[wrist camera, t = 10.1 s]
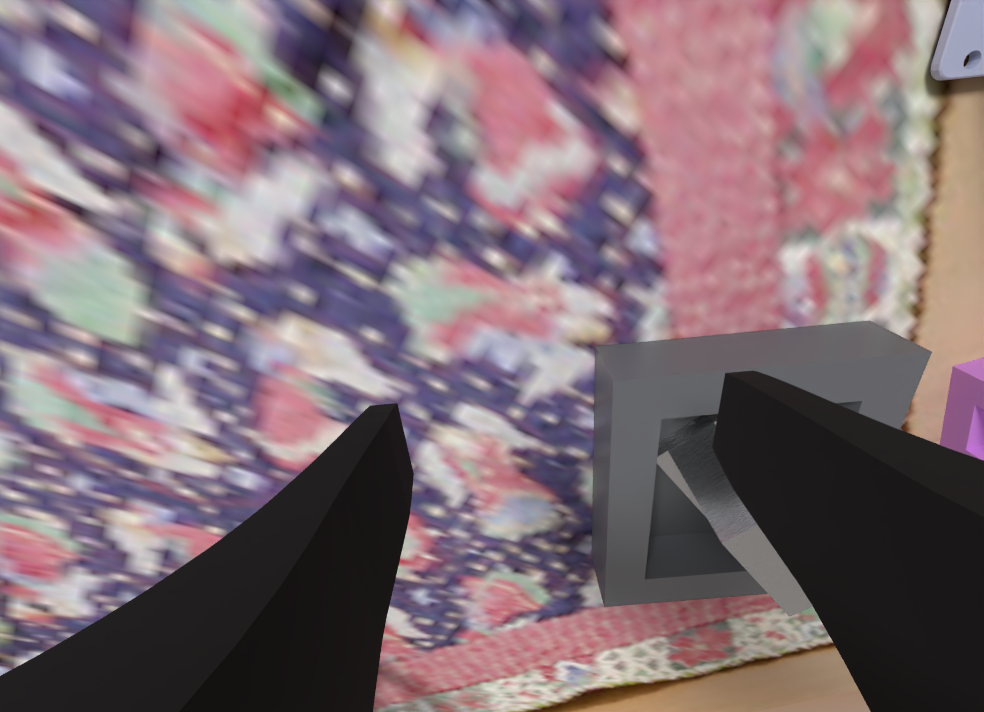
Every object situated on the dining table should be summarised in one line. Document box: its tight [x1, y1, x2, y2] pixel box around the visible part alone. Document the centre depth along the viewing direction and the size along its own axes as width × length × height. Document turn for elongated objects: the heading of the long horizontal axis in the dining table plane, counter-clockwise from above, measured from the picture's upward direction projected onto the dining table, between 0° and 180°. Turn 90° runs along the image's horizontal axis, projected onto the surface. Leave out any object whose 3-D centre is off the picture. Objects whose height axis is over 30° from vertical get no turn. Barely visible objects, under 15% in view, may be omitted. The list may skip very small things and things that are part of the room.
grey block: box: [657, 414, 812, 617], centre depth 19 cm, size 4×6×6 cm, turn 41°
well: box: [592, 321, 932, 607], centre depth 21 cm, size 12×14×3 cm
